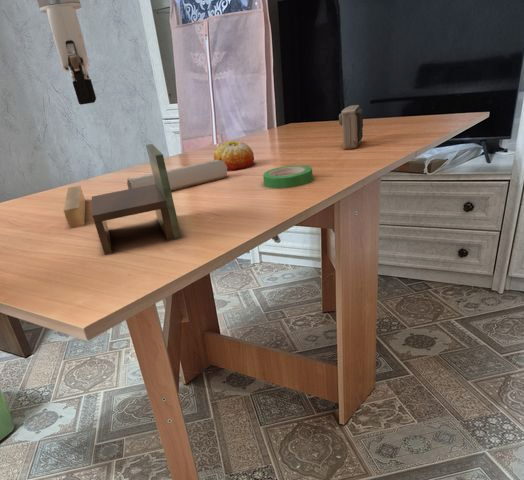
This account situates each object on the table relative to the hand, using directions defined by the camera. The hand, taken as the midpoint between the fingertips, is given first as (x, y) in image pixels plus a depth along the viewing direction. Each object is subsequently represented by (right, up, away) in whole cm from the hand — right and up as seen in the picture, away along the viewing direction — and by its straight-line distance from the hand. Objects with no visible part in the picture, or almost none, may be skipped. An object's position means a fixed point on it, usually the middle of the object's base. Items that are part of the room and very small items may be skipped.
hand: (88, 102), depth 97 cm
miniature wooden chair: (+13, -30, -11) cm, 35 cm away
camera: (+62, +7, +38) cm, 73 cm away
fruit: (+29, -1, +32) cm, 43 cm away
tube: (+16, -12, +18) cm, 27 cm away
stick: (-6, -21, +9) cm, 23 cm away
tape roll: (+42, -13, +10) cm, 45 cm away
